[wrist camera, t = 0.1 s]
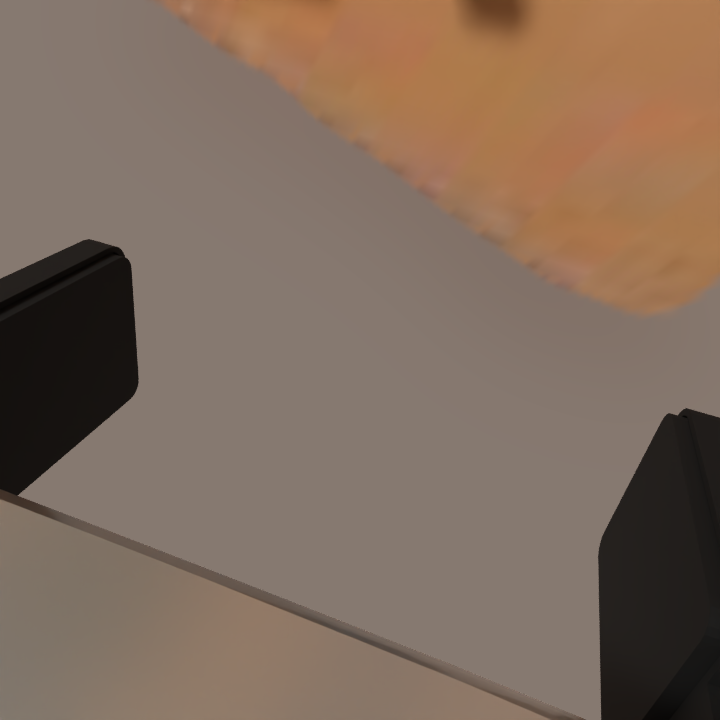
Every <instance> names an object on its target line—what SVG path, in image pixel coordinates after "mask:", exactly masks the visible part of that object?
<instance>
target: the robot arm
mask: <svg viewBox="0 0 720 720" xmlns="http://www.w3.org/2000/svg"><path fill="white" fill-rule="evenodd" d="M137 387H138V364H137V348H136V332H135V317H134V301H133V286H132V271H131V264H130V262H129V260H128V259H127V258H125V255H124V253H123V252H122V250H121V249H120V248H118V247H115V246H111V245H108V244H104V243H101V242H98V241H94V240H90V239H88V240H83V241H81V242H79V243H77V244H75V245H73V246H71V247H68V248H66V249H64V250H62V251H60V252H58V253H55V254H53V255H51V256H49V257H47V258H44V259H42V260H40V261H38V262H36V263H34V264H31V265H29V266H27V267H25V268H23V269H21V270H18V271H16V272H14V273H12V274H10V275H8V276H5V277H3V278H1V279H0V720H585V719H583V718H581V717H578V716H576V715H573V714H571V713H568V712H566V711H563V710H561V709H559V708H556V707H554V706H551V705H549V704H546V703H544V702H542V701H539V700H537V699H534V698H532V697H529V696H527V695H525V694H522V693H520V692H517V691H515V690H512V689H510V688H508V687H505V686H503V685H500V684H498V683H495V682H493V681H491V680H488V679H486V678H483V677H481V676H478V675H476V674H473V673H471V672H469V671H466V670H464V669H461V668H459V667H456V666H454V665H451V664H449V663H446V662H444V661H441V660H439V659H436V658H434V657H431V656H429V655H426V654H424V653H421V652H418V651H416V650H413V649H411V648H408V647H406V646H403V645H401V644H398V643H396V642H393V641H390V640H388V639H385V638H383V637H380V636H378V635H375V634H373V633H370V632H368V631H365V630H363V629H360V628H357V627H355V626H352V625H349V624H347V623H345V622H342V621H340V620H337V619H335V618H332V617H329V616H327V615H324V614H322V613H319V612H317V611H314V610H311V609H309V608H307V607H304V606H301V605H299V604H296V603H294V602H291V601H289V600H286V599H284V598H281V597H279V596H276V595H273V594H271V593H268V592H266V591H263V590H261V589H258V588H255V587H253V586H250V585H248V584H245V583H243V582H240V581H237V580H235V579H232V578H229V577H227V576H225V575H222V574H219V573H217V572H214V571H212V570H209V569H206V568H204V567H201V566H199V565H196V564H193V563H191V562H188V561H186V560H183V559H181V558H178V557H175V556H173V555H170V554H168V553H165V552H163V551H160V550H157V549H155V548H152V547H150V546H147V545H144V544H142V543H139V542H137V541H134V540H131V539H129V538H126V537H124V536H121V535H119V534H116V533H113V532H111V531H108V530H105V529H103V528H100V527H98V526H95V525H92V524H90V523H87V522H85V521H82V520H80V519H77V518H74V517H72V516H69V515H66V514H64V513H61V512H59V511H56V510H53V509H51V508H48V507H45V506H43V505H40V504H38V503H35V502H32V501H30V500H27V499H24V498H22V497H19V496H17V495H19V494H20V493H21V492H22V491H23V490H24V489H25V488H27V487H28V486H29V485H30V484H31V483H33V482H34V481H35V480H36V479H37V478H39V477H40V476H41V475H42V474H43V473H44V472H46V471H47V470H48V469H49V468H50V467H51V466H53V464H55V463H56V462H57V461H58V460H60V459H61V458H62V457H63V456H64V455H65V454H66V453H68V452H69V451H70V450H71V449H72V448H74V447H75V446H76V445H77V444H78V443H79V442H81V441H82V440H83V439H84V438H85V437H87V436H88V435H89V434H90V433H91V432H92V431H93V430H95V429H96V428H97V427H98V426H99V425H101V424H102V423H103V422H104V421H105V420H106V419H108V418H109V417H110V416H111V415H112V414H113V413H115V412H116V411H117V410H118V409H119V408H120V407H121V406H123V405H124V404H125V403H126V402H127V401H129V400H130V399H131V397H133V395H134V394H135V392H136V389H137ZM598 561H599V562H598V563H599V613H600V614H599V616H600V617H599V618H600V668H601V669H600V671H601V720H720V418H719V417H715V416H712V415H708V414H705V413H701V412H697V411H694V410H691V409H687V408H686V409H684V410H682V411H681V412H680V413H679V415H678V416H677V415H673V414H670V413H669V414H667V415H666V416H665V417H664V418H663V420H662V422H661V424H660V426H659V427H658V430H657V431H656V433H655V435H654V437H653V439H652V441H651V443H650V445H649V447H648V449H647V451H646V453H645V454H644V456H643V458H642V460H641V462H640V464H639V466H638V468H637V470H636V472H635V474H634V476H633V478H632V480H631V482H630V483H629V486H628V487H627V489H626V491H625V493H624V495H623V497H622V499H621V501H620V503H619V505H618V507H617V509H616V511H615V512H614V514H613V516H612V518H611V520H610V522H609V524H608V526H607V528H606V530H605V532H604V534H603V536H602V540H601V543H600V547H599V555H598Z"/></svg>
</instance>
